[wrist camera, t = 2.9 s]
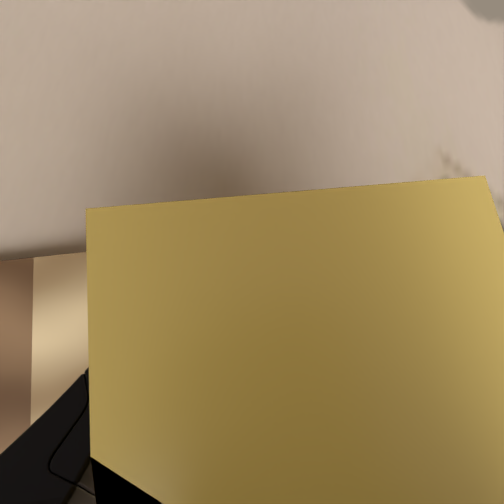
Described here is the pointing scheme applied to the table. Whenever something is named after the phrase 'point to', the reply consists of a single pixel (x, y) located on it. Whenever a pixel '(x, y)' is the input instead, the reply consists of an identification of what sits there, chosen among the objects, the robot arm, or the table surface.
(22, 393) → the board
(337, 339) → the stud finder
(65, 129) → the table surface
